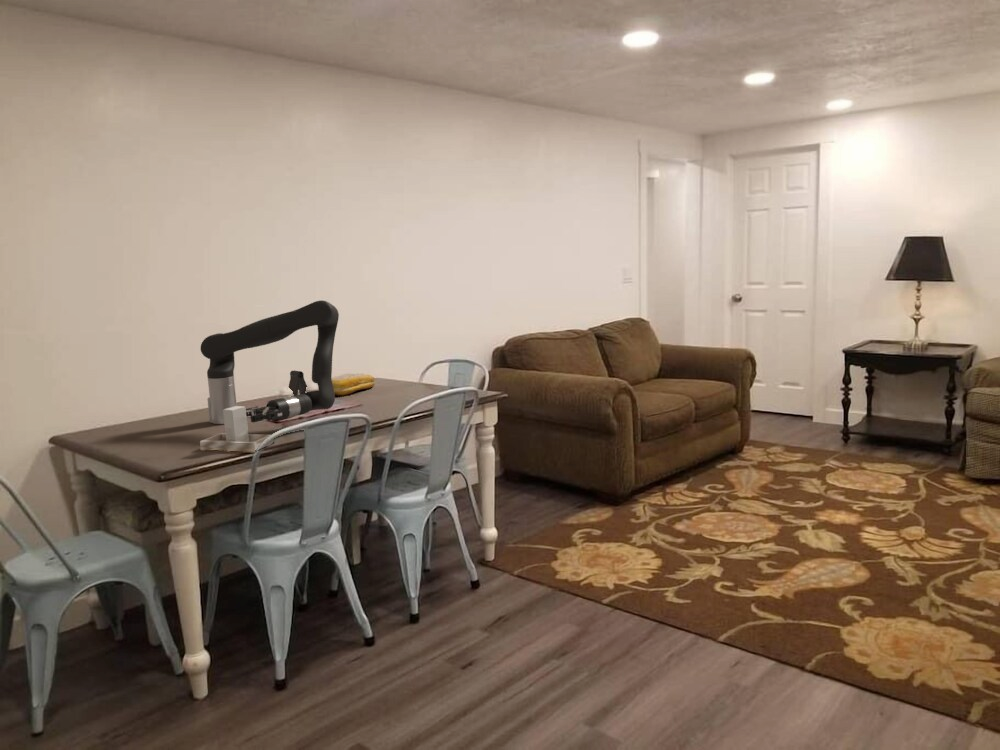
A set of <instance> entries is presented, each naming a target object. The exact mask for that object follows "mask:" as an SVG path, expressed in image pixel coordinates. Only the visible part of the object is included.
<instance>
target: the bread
mask: <svg viewBox="0 0 1000 750" xmlns="http://www.w3.org/2000/svg"><path fill="white" fill-rule="evenodd" d="M331 380H332V384H333V388H334V393H335V396H339V397H343V396H348V395H352V394H353V393H355V392H357V391H361V390H365V389H366V390H368V389H371V388H373V387H375V377H374V376H373V375H370V374H367V373H366V374H365V373H344V374H341V375H337V376H334V377H331Z"/></svg>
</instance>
